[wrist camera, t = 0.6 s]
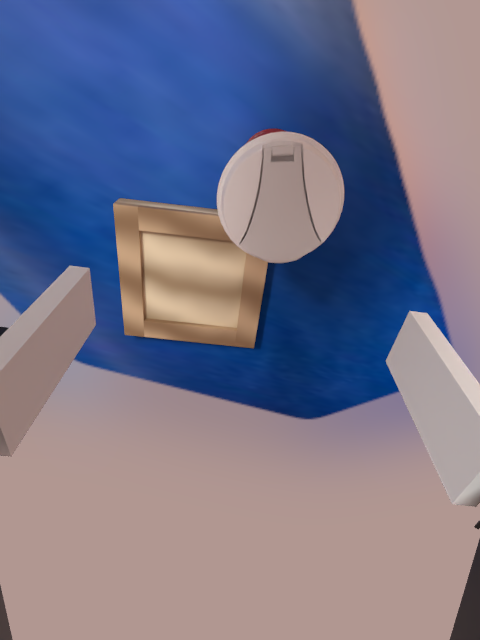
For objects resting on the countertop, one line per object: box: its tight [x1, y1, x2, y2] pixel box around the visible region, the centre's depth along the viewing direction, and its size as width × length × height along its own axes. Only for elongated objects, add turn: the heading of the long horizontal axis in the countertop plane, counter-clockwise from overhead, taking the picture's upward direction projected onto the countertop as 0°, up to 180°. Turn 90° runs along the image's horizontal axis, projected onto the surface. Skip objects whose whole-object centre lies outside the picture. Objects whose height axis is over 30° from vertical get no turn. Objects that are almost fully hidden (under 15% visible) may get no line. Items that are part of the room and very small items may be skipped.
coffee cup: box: [217, 129, 344, 263], centre depth 28 cm, size 8×8×15 cm
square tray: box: [113, 198, 268, 348], centre depth 41 cm, size 16×16×2 cm
